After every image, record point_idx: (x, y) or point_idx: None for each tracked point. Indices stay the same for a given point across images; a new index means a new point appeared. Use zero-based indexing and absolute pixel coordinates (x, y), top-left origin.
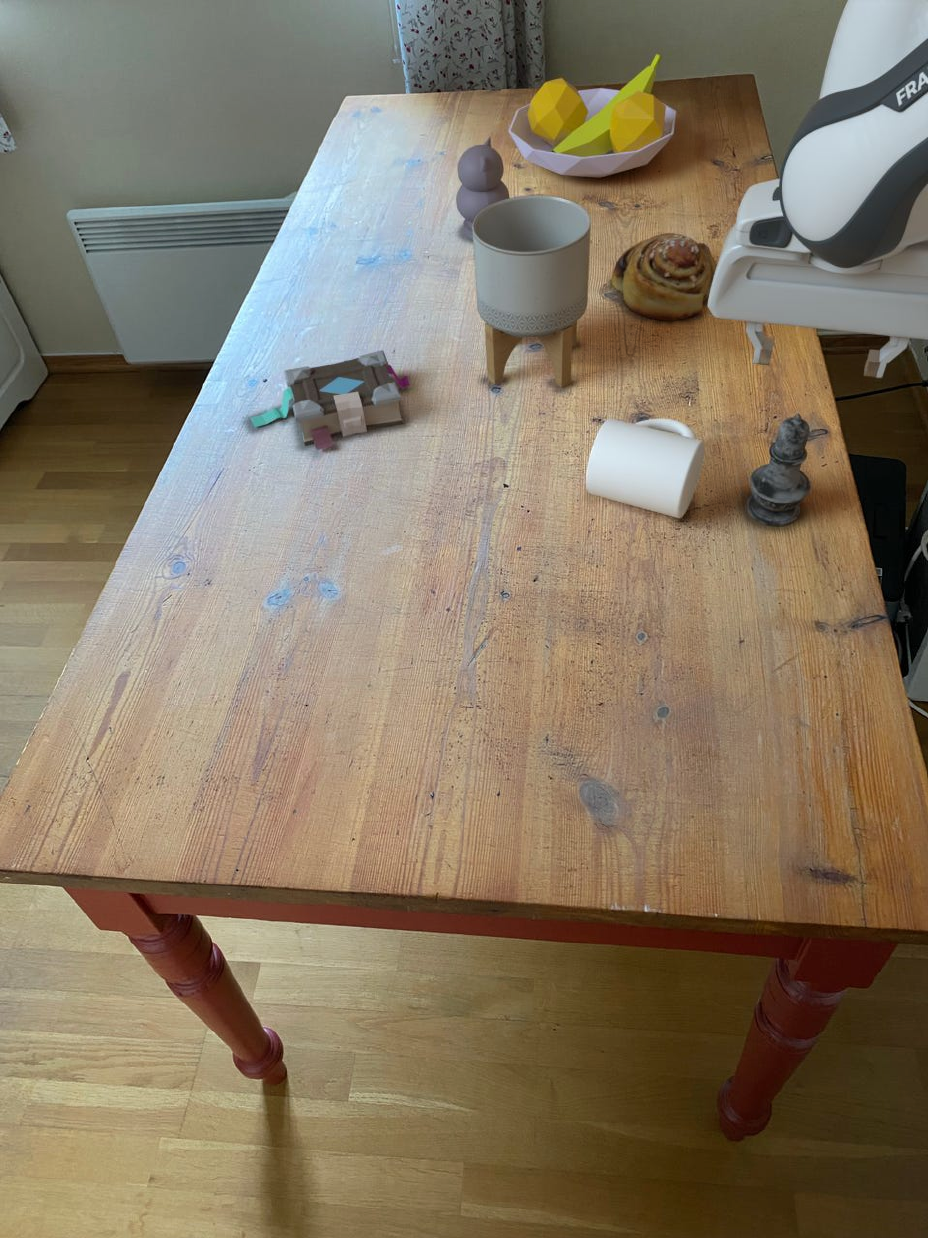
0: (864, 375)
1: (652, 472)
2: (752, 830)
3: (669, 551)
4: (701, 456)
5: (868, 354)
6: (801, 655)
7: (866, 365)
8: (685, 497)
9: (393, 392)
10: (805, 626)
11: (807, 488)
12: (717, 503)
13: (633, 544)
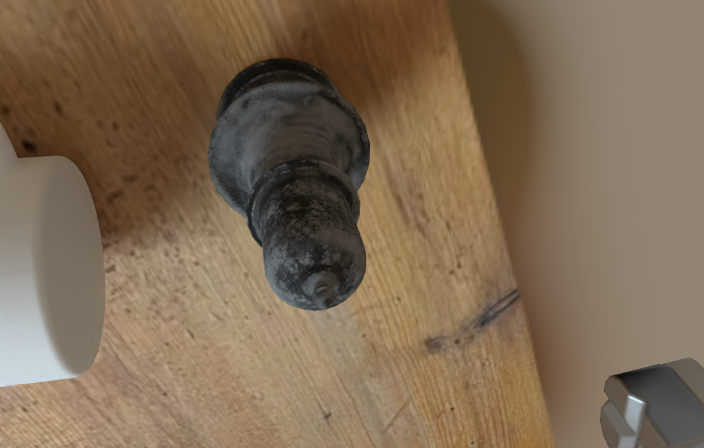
0: (605, 438)
1: None
2: None
3: (129, 325)
4: (56, 230)
5: (650, 425)
6: (416, 396)
7: (623, 418)
8: (94, 302)
9: None
10: (412, 354)
11: (364, 156)
12: (152, 160)
13: None
